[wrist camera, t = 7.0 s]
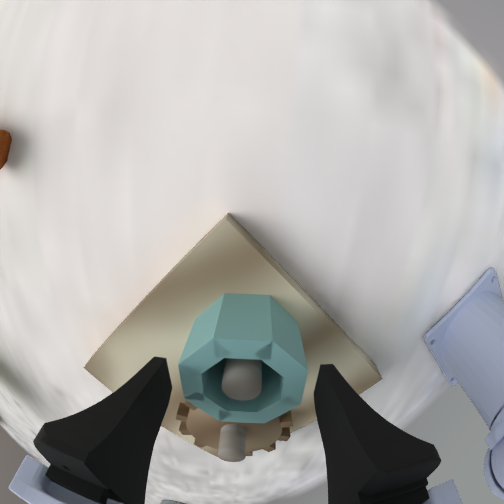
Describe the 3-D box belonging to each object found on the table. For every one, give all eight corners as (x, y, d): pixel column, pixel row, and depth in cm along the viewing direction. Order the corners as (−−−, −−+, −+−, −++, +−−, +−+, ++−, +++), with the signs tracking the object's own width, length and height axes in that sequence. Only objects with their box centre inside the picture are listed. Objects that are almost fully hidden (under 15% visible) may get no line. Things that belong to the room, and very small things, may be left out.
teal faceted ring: (315, 338, 15) (329, 387, 11) (245, 385, 16) (242, 434, 12) (247, 273, 14) (243, 314, 10) (177, 333, 15) (157, 379, 11)
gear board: (375, 365, 18) (401, 419, 12) (226, 448, 21) (221, 494, 16) (228, 213, 14) (211, 242, 9) (91, 356, 18) (60, 401, 13)
